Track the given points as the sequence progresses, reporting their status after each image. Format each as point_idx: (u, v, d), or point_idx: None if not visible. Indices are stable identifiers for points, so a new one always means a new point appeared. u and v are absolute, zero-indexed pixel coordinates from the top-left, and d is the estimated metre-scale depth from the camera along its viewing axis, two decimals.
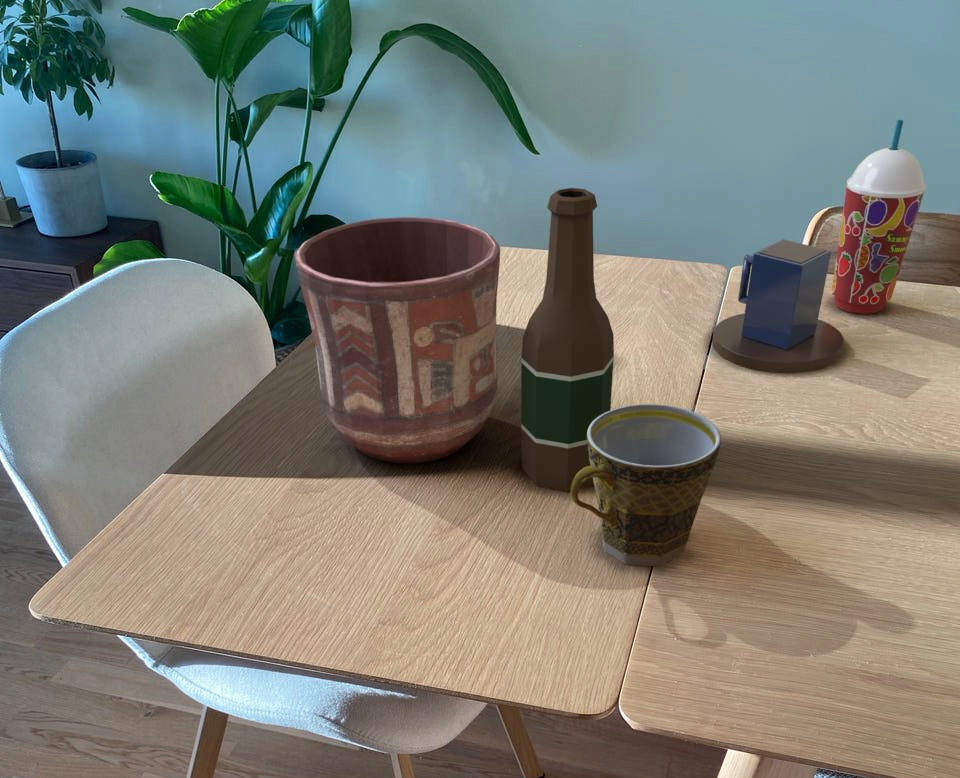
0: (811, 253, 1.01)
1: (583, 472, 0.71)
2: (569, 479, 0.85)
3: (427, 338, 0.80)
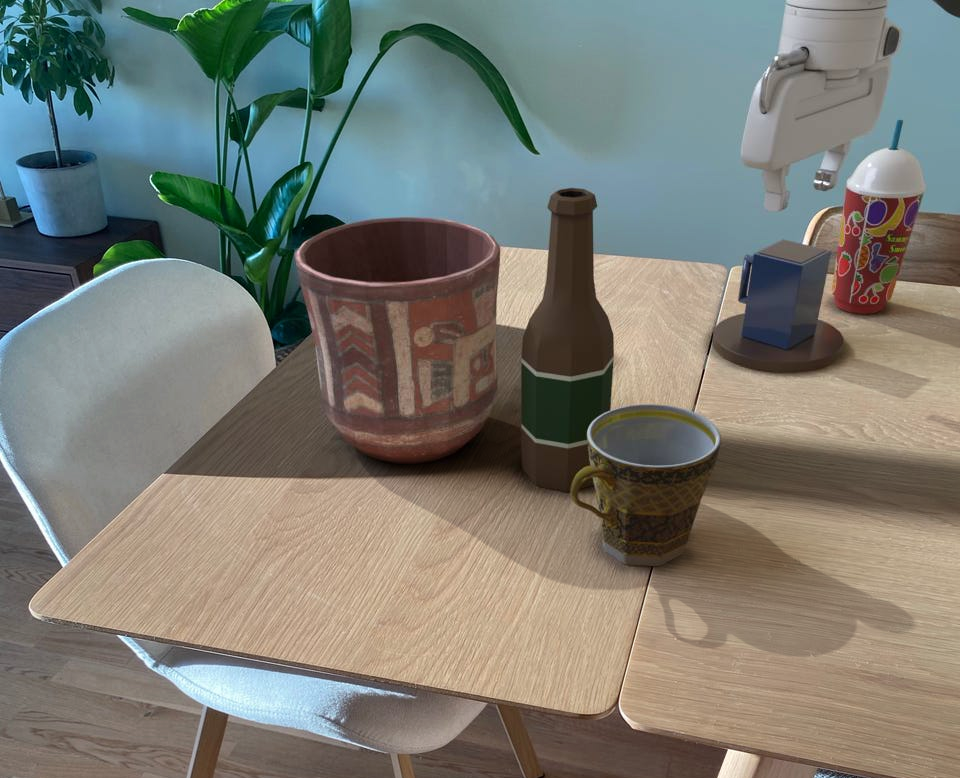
0: (811, 253, 1.01)
1: (583, 472, 0.71)
2: (569, 479, 0.85)
3: (427, 338, 0.80)
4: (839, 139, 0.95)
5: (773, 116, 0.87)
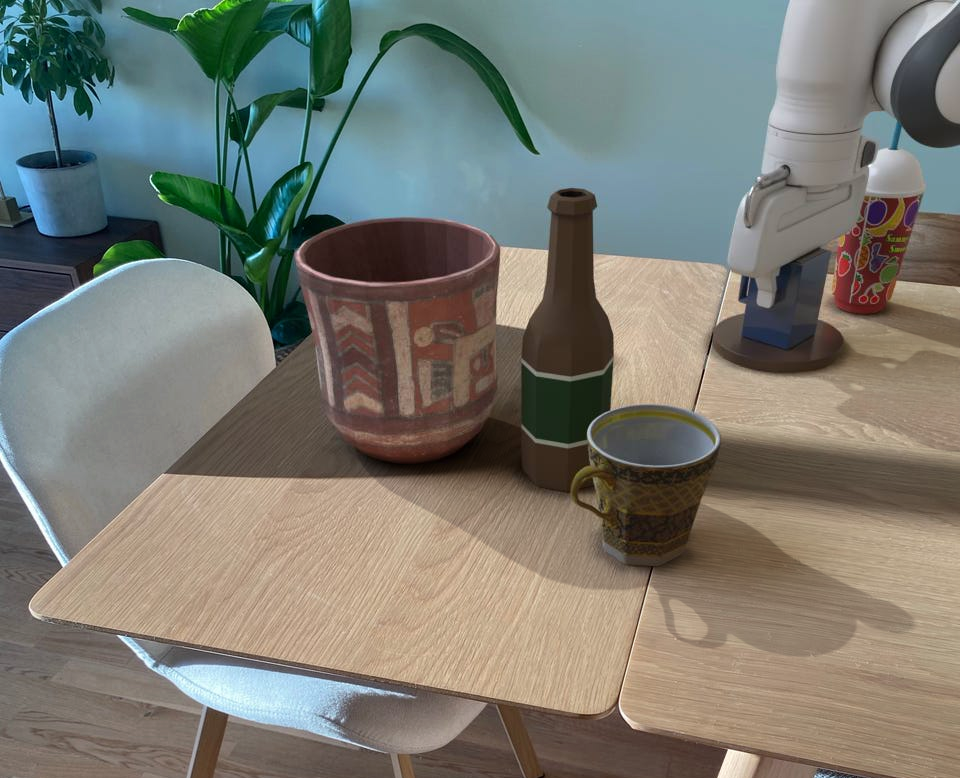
0: (811, 253, 1.01)
1: (583, 472, 0.71)
2: (569, 479, 0.85)
3: (427, 338, 0.80)
4: (821, 241, 1.02)
5: (757, 230, 0.93)
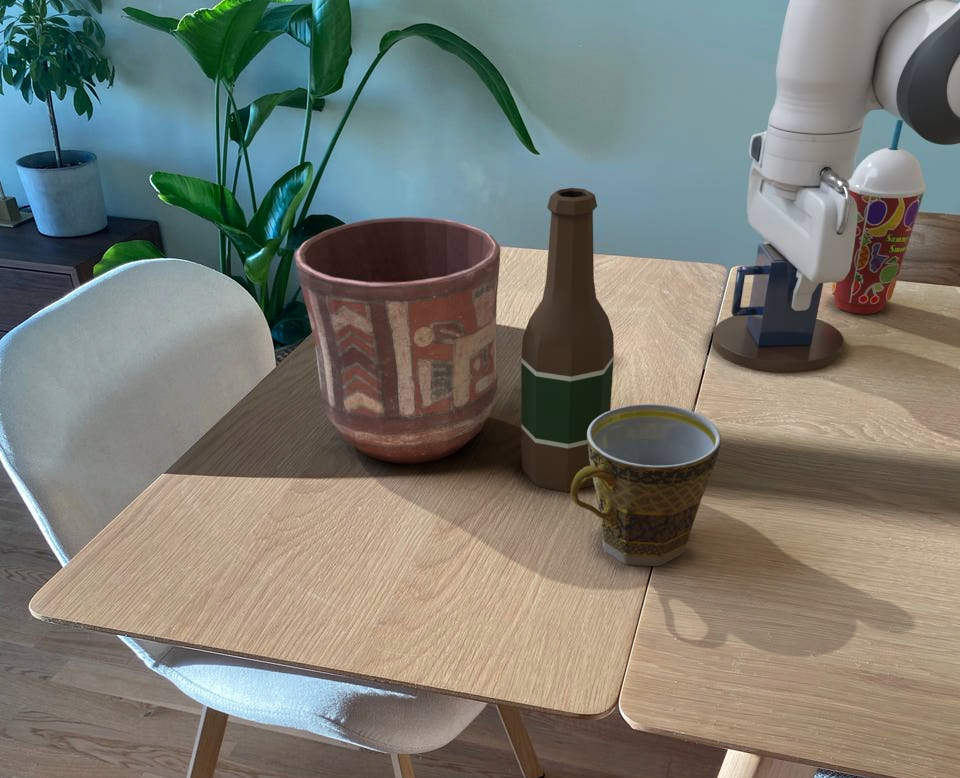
0: None
1: (583, 472, 0.71)
2: (569, 479, 0.85)
3: (427, 338, 0.80)
4: None
5: (849, 234, 0.92)
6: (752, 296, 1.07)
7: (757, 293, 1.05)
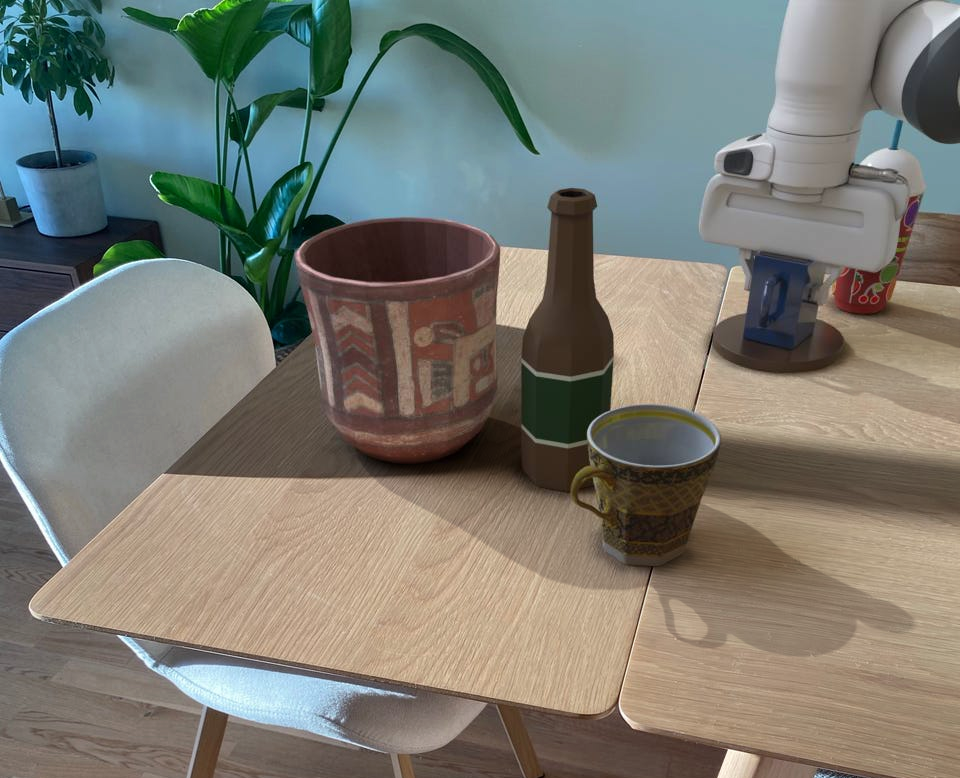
0: None
1: (583, 472, 0.71)
2: (569, 479, 0.85)
3: (427, 338, 0.80)
4: None
5: (899, 218, 0.95)
6: (754, 307, 1.05)
7: (771, 301, 1.03)
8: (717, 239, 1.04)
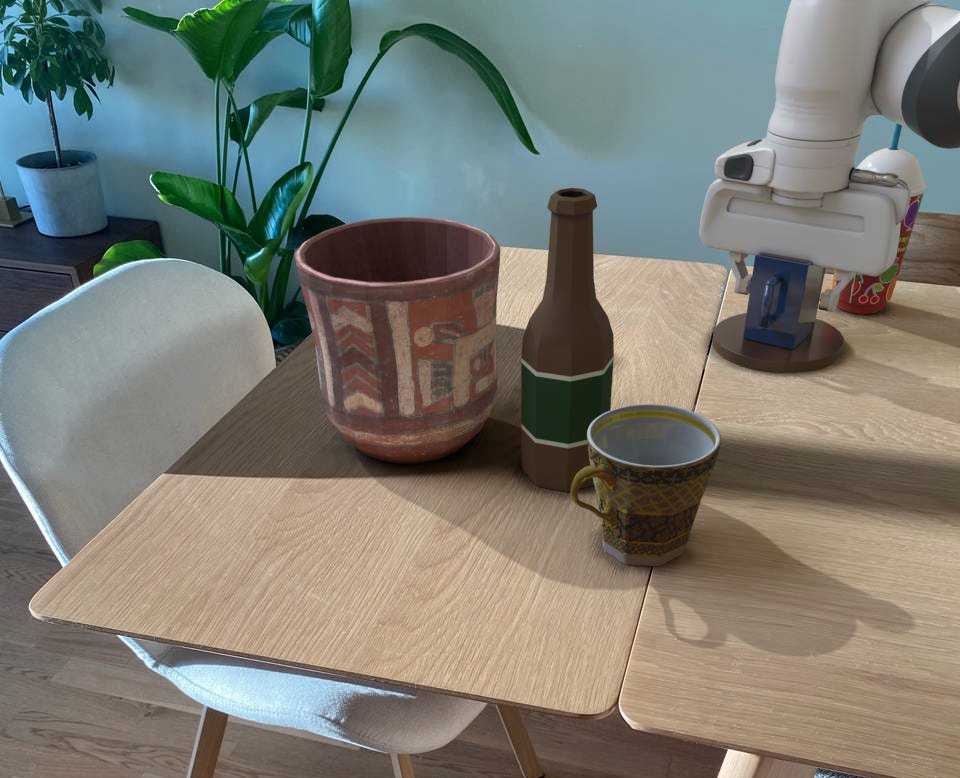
0: None
1: (583, 472, 0.71)
2: (569, 479, 0.85)
3: (427, 338, 0.80)
4: None
5: (899, 222, 0.95)
6: (754, 307, 1.05)
7: (772, 301, 1.03)
8: (717, 244, 1.04)
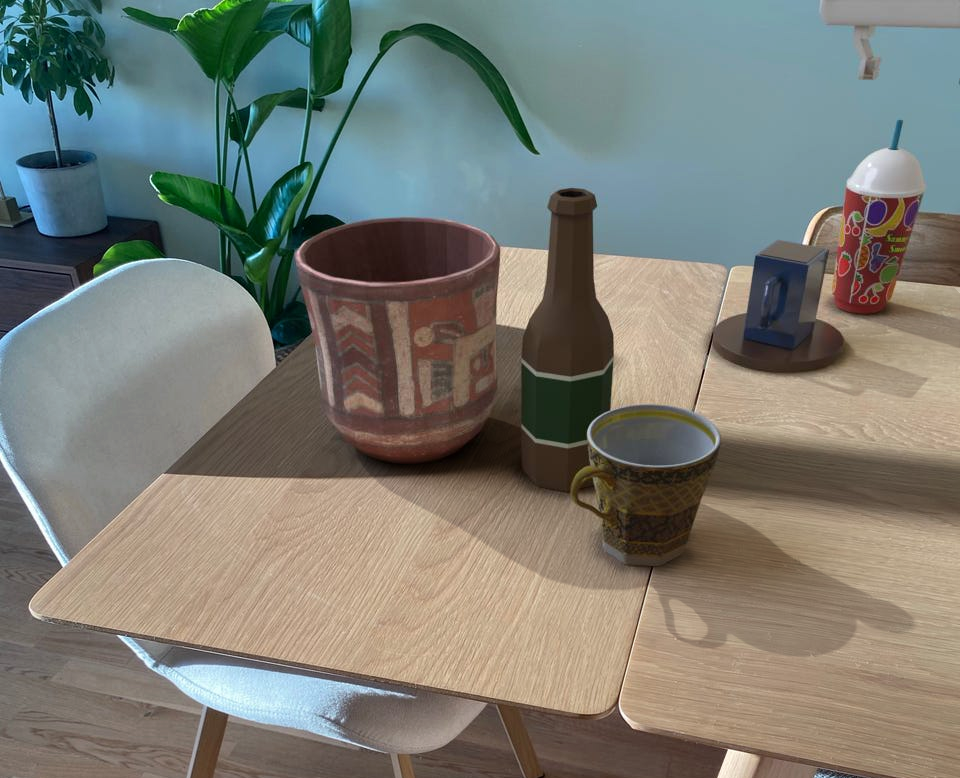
0: (793, 245, 1.03)
1: (583, 472, 0.71)
2: (569, 479, 0.85)
3: (427, 338, 0.80)
4: None
5: None
6: (754, 307, 1.05)
7: (772, 301, 1.03)
8: (841, 19, 0.93)
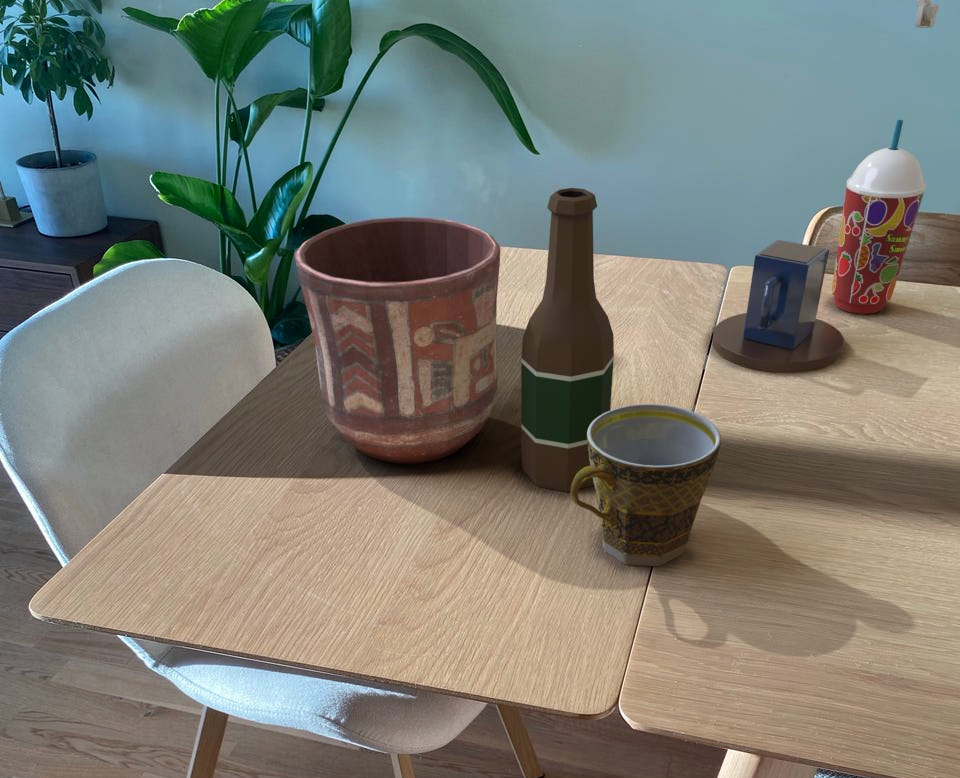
0: (793, 245, 1.03)
1: (583, 472, 0.71)
2: (569, 479, 0.85)
3: (427, 338, 0.80)
4: None
5: None
6: (754, 307, 1.05)
7: (772, 301, 1.03)
8: None
